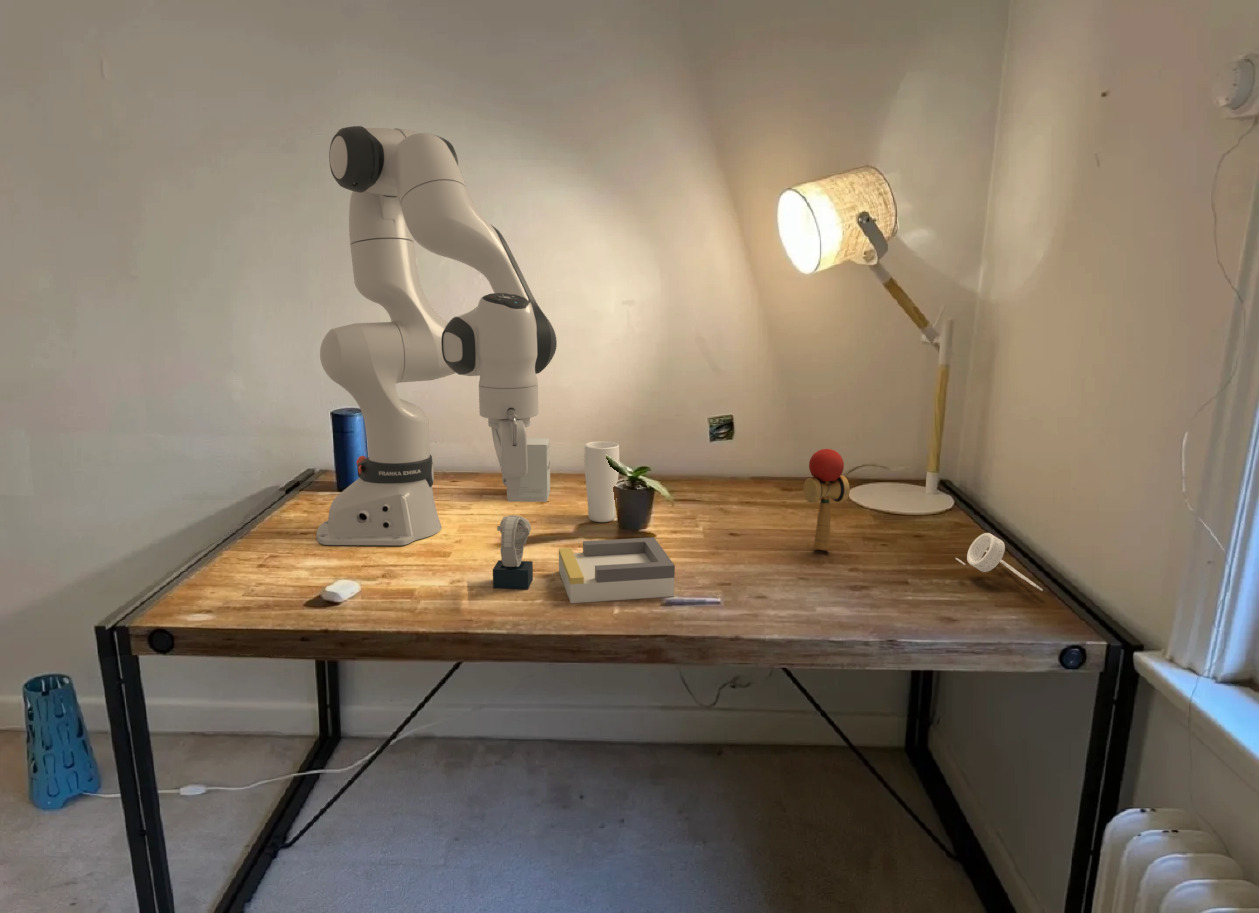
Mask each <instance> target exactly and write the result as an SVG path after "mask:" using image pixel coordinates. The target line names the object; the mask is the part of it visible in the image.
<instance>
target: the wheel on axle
mask: <svg viewBox="0 0 1259 913" xmlns="http://www.w3.org/2000/svg"><path fill="white" fill-rule="evenodd" d="M1005 546H1006V545H1005V542H1004V541H1003V540H1002V539H1000V538H998V537H997V536H996V535H993V534H991V533H990V532H985V533H982V534H980V535H979V536H978V537H976V538H975V539H973V541H972V543H971V544H970V546H969V548H968V551H967V553H966V554H967V555H966V560H967V563H968V564H969V565H971V566H973V568H976V569H977V570H978V571H980V572H982V573H987V572H990V571H992V570H993V569H994V568H996V566H998V564H999V563H1001V564H1002V565H1003V566H1005V567H1006V568H1007V569H1009V570H1010V571H1011V572H1013V574H1015V575H1017V576H1018V577H1019V578H1021V579H1022V580H1024V581H1026V582H1027V583H1029V584H1030V585H1032V586H1033V587H1034V588H1036V589H1038V590H1039V591H1041V592H1043V590H1044V589H1043V588H1042V587H1040V586H1039V585H1037V584H1036V583H1034V582H1033V581H1032V580H1031V579H1029V578H1028V577H1026V576H1025V575H1024V574H1022V573H1021V572H1019V571H1018V570H1017V569H1015V568H1014V567H1013V566H1011V565H1010V564H1008V563H1007V562H1006V561H1004V560H1003V559H1002V558H1003V557H1004V554H1005V551H1006V547H1005ZM955 560H956V561H958V562H959V563H961V564H962V565H964V566H966V563H965V562H963V561H962V559H959V558H957V557H955Z"/></svg>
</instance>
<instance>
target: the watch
mask: <svg viewBox="0 0 1259 913" xmlns="http://www.w3.org/2000/svg"><path fill="white" fill-rule="evenodd" d="M531 528H532V525H531V523H530V521H528V519H527V518H525V517H523V516H520V515H515V514H512V515H508V516H503V517H502V519H501V521H500V524H499V525H497V527H496V530H497V531H498V532H500V534H501V535H500V536H501V537H500V544H501V547H500V555H501V556H500V557H501V558H500V559H499V560H497V562H496V564H495V565H494V567H493V569H492V587H493V589H499V590H500V589H506V590H507V589H508V590H529V588H530V587H531V585H532V582H533V581H534V571H533V570H534V568H533V567H534V564H533V563H534V562H533V561H532V560H530V561H529V560H523V556H524V548H525V544H527V542H528V538H529V536H530V533H531V530H532V529H531Z"/></svg>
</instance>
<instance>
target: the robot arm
mask: <svg viewBox="0 0 1259 913" xmlns="http://www.w3.org/2000/svg"><path fill="white" fill-rule="evenodd" d="M456 152H457V151H456V150H455V148H454V146H453V144H452V143H451V142H450V141H449V140H448V139H445V138H444V137H441V136H439V135H436V134H432V133H429V132H428V133H427V132H418V131H414V130H409V129H403V128H386V127H385V128H384V127H364V126H361V125H354V126H345V127H342V128H340V129H338V131H337V132H336V133H335V134H334V136H333V137H332V138H331V142H330V146H329V154H328V155H329V156H328V158H329V168H330V172H331V175H332V177H333V178H334V180H335V181H336V183H337V185H339V186H340V187H341V188H344V189H345V190H348V191H352V192H351V194H350V199H349V209H348V210H349V213H348V231H349V232H348V233H349V234H348V235H349V245H350V254H351V262H352V271H353V280H354V281H353V282H354V285H355V287H356V289H357V291H358V292H359V294H361V296H363V297H364V298H365V299H367V300H369V301H371V302H373V303H376V304H377V305H379V306H381V307H383V309H384V310H385V312H387V314H388V316H389V318H390V321H384V322H383V321H381V322H378V321H377V322H357V323H356V322H355V323H349V324H347V325H342V326H338V327H335V328H331V329H329V330H328V332H327V333H326V334H325V336H324V338H323V339H322V342H321V345H320V349H319V358H320V363H321V367H322V369H323V371H324V372H325V374H326V375H327V376H328V378H329V379H330V380H331V381H333V382H334V383H336V384H337V385H339V386H341V387H342V388H343V389H345V391H347V392H348V393H349V394H350V395H351V397H352V398H353V400H355V402H356V403H357V405H358V407H359V409H360V412H361V414H362V417H363V422H364V425H365V433H366V441H367V443H366V444H367V452H368V455H367V457H366V456H365V455H360V456H358V458H357V459H356V467H357V469H356V471H357V477H358V478H357V479H356V480H355V481H354V482H352V483H351V484H350V485H348V486H347V487H346V488H345V489H343V490H342V491H341V492H339V493H338V495H337V496H335V498H334V499H333V500H332V502H331V504H330V507H329V512H328V516H327V520H326V521H324V522H322V523H321V524H320V525H319V526H318V528H317V530H316V540H317V542H318V543H319V544H321V545H326V546H406V545H408V544H410V543H413V542H414V541H417V540H421V539H426V538H428V537H431V536H434V535H436V534H437V533H439V532H440V531H441V529H442V527H443V526H442V524H441V522H440V518H439V515H438V511H437V508H436V502H435V497H434V491H433V485H434V480H435V478H434V476H435V475H434V474H435V472H434V462H433V456H432V455H431V454H430V450H431V449H430V430H429V428H430V427H429V419H428V416H427V414H426V413H425V411H424V410H423V408H421V407H419V406H417V405H416V404H414V403H412V402H409V401H407V400H404V399H402V398H400V397H399V396H398V393H397V389H396V385H397V384H399V383H400V384H401V383H412V382H413V383H414V382H426V381H427V382H428V381H434V380H437V379H438V380H439V379H441V378H445V377H448V376H451V375H454V374H457V375H460V376H467V377H478V376H479V380H478V397H479V398H478V404H479V405H478V406H479V407H478V408H479V411H478V412H479V416H480V417H482V418H485V419H487V420H488V423H487V424H488V427H489V428H491V434H492V440H493V445H494V450H495V454H496V457H497V460H498V463H499V467H500V471H501V474H502V478H501V479H502V484H503V485H504V486H505V487H506V498H507V501H508V502H511V503H512V502H513V503H514V502H520V501H519V499H520V483H521V477H525V476H526V475H527V471H528V461H527V438H528V437H527V429H526V428H528V427H529V426H531V418H533V417H536V416H538V415H539V380H538V378H537V374H539V373H541V372H542V371H544V370H545V369H546V367H548V365H549V364H550V363H551V361H553V360H552V359H553V358H554V357H555V354H556V351H557V347H558V346H557V345H558V343H557V335H556V332H555V329H554V327H553V325H552V323H551V322H550V320H549V319H548V317H547V315H546V314H545V313H544V312H543V311H542V309H541V308H540V306H539V305H538V303H537V300H536V299H535V297H534V295H533V293H532V291H531V289H530V286H529V285H528V283H527V281H526V279H525V277H524V274H523V273H522V271H521V268H520V266H519V265H518V264H519V263H518V262H517V261H516V258H515V257H514V255H513V253H512V251H511V249H510V247H509V245H508V243H507V241H506V240H505V238H504V236H503V235H502V233H501V232H500V230H498V228H496V227H495V226H493V224H491V223H490V222H489V221H488V220H487V219H486V218H485V217H484V216H483V215H482V214H481V212H480V211H479V210H478V208H477V206H475V204H474V202H473V200H472V199H471V197H470V194H469V191H468V188H467V185H466V182H465V180H464V177H463V175H462V171H461V170H460V167H459V160H458V155H457V153H456ZM414 241H416V243H417V244H418V245H419V246H421V247H422V248H424V249H425V250H427V251H428V252H430V253H433V254H435V255H437V256H439V257H444V258H448V259H452V260H454V261H457V262H459V263H462V264H465V265H466V266H469V267H471V268H473V269H474V270H476V271H477V272H479V273H481V274H482V276H484V277H485V279H486V280H487V281H488V282H489V285H490V287H491V289H492V291H493V292H494V293H488V294H486V295H483V296H481V298H479V301H478V304H477V306H476V307H474V308H473V309H472V310H470V311H468V312H465V313H464V314H461V315H458V316H454V317H453V318H451V319H450V320H449V322H447V321H446V320H445V319H444V318H442V317H441V316H440V315H439V314H438V313H437V311H435V309H434V308H433V306H432V305H431V304H430V302H429V300H428V299H427V297H426V295H425V293H424V290H423V288H422V285H421V281H420V278H419V276H420V275H419V272H418V265H417V259H416V250H415V243H414Z"/></svg>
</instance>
